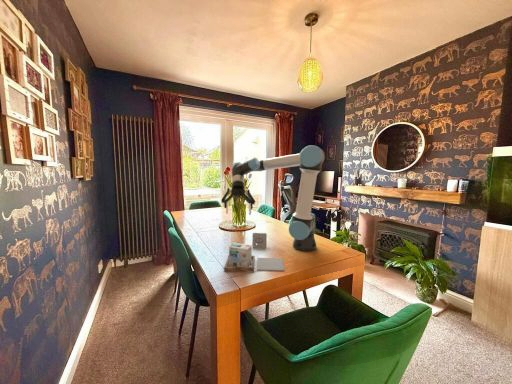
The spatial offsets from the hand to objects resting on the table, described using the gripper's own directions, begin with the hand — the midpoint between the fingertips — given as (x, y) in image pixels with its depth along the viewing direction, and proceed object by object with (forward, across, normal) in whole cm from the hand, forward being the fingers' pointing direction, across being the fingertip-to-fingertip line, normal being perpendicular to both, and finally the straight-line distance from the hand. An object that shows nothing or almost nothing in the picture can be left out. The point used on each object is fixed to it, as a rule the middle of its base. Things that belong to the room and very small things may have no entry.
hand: (238, 213), depth 124 cm
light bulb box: (+28, -2, -8) cm, 29 cm away
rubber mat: (+28, -17, -5) cm, 33 cm away
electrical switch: (+11, -17, -25) cm, 32 cm away
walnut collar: (+27, -2, -7) cm, 28 cm away
